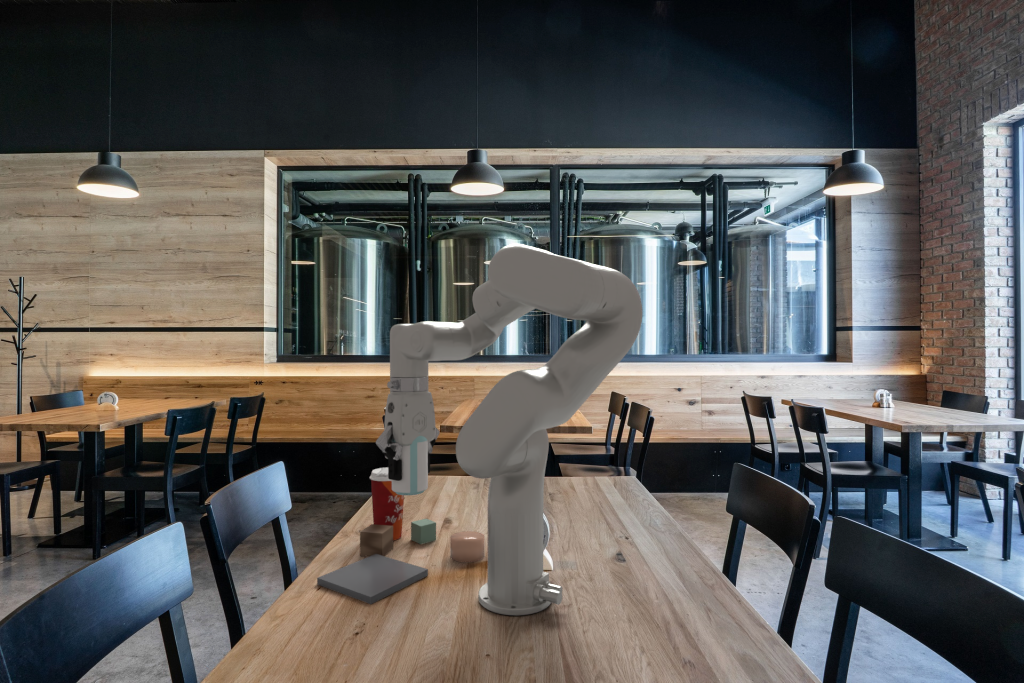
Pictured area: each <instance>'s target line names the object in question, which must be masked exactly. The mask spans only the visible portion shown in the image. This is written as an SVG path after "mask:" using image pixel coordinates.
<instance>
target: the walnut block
mask: <svg viewBox="0 0 1024 683" xmlns="http://www.w3.org/2000/svg"><path fill="white" fill-rule="evenodd" d="M393 550H394V541H393V526H388V525H375V524H372V523H371V524H369V525H368V526H367V527H365V528H363V529H362V530H361V531H360V532H359V556H360V557H369V556H372V555H374V554H378V555H382V556H385V557H386V556H387V555H388V554H389V553H390V552H392V551H393Z"/></svg>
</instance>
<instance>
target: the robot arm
mask: <svg viewBox="0 0 1024 683" xmlns="http://www.w3.org/2000/svg"><path fill="white" fill-rule="evenodd" d="M487 269H488V270H487V278H488V279H487V281H485V282H484V283H482V284H480V285H479V286H478V287H476V288H475V290H474V291H473V294H472V306H473V309H474V311H475V312H474V313H473V314H472V315H470V316H468V317H467V318H465V319H464V320H461V321H459V322H452V321H434V320H433V321H431V320H427V321H426V320H425V321H420V322H416V323H397V324H394V325H392V326H391V328H390V331H389V380H390V381H388V382H387V384H386V386H387V388H388V389H389V393H388V395H387V399H386V403H385V404H386V406H385V412H384V430H383V432H382V433H380V435H379V436H378V438H377V439H376V441H375V444H376V446H377V447H378V448H379V449H380V451H381V453H382V454H383V456H384V458H385V459H387V460H388V462H387V464H388V465H387V467H388V478H389V479H391V480H396V481H400V480H401V479H402V460H401V459H399V457H400V455H401V452H402V449H403V446H409V445H411V444H412V442H413V441H414V440H415V439H416V438H417V437H418V436H424V437H425V438H426V439H427V440H428V474H430V473H431V454H432V453H433V448H434V445H435V444H436V441H437V439H438V438H439V435H440V430H439V429H438V428H437V426H436V414H435V406H434V399H433V395H432V391H429V362H441V361H462V360H466V359H469V358H471V357H473V356H474V355H477V354H478V353H480V352H482V351H483V350H485V349H487V348H488V347H490V346H491V345H493V344H494V343H496V341H497V340H498V338H499V337H500V336H501V335H502V333H503V331H504V328H505V327H507V326H508V325H510V324H511V323H514V322H515V321H516V320H518V319H521V317H523V316H525V315H526V314H528V313H530V312H532V311H534V310H536V309H537V310H538V311H542V312H545V313H547V314H550V315H553V316H556V317H560V318H564V319H568V320H574V321H575V320H576V321H585V323H584V324H583V325H582V327H580V328H579V329H578V330H577V331H575V333H573V334H572V335H570V337H568V338H567V339H566V340H565V341H564V342H563V343H562V344H561V346H560V347H559V348H558V350H557V351H556V353H554V355H552V357H551V358H550V359H549V360H548V361H547V362H546V363H545V364H544V365H542V366H541V367H538V368H532V369H531V368H530V369H519V370H516V371H513V372H511V373H508V374H507V375H505V376H504V377H502V378H501V379H500V380H499V381H498V382H496V384H494V385H493V387H492V388H491V390H490V391H489V392H488V393H487V394H486V396H485V397H484V398H483V400H482V401H481V402H480V403H479V405H477V408H475V409H474V411H473V412H472V414H471V415H470V416H469V417H468V418H467V420H466V421H465V422H464V424H463V426H462V427H461V429H460V430H459V433H458V435H457V437H456V438H457V439H456V443H455V456H456V460H457V462H458V465H459V467H460V468H461V469H462V471H463V472H465V473H466V474H467V475H468V476H471V477H473V478H476V479H482V480H483V479H485V480H486V479H490V481H489V486H488V490H487V491H488V492H487V582H485V583H484V584H483V585H482V586H481V587H480V588H479V589H478V595H477V596H478V602H479V604H480V605H481V606H482V607H483V608H484V609H485V610H488V611H491V612H492V613H495V614H499V615H505V616H526V615H532V614H537V613H539V612H542V611H544V610H546V609H547V608H548V607H549V606H550V605H551V604H554V605H555V604H556V605H558V606H559V605H561V604H562V600H563V586H561V585H559V584H553V583H551V581H550V572H546V571H544V498H545V497H544V492H545V491H544V490H545V487H544V485H545V474H546V467H547V461H548V457H549V456H548V454H549V449H550V448H549V446H550V441H549V435H548V434H549V433H548V431H547V429H552V428H556V427H559V426H561V425H563V424H565V423H567V422H568V421H569V420H570V419H572V418H573V416H574V415H575V414H576V413H577V411H579V409H580V408H581V407H582V406H583V405H584V403H585V402H586V401H587V400H588V399H589V398H590V397H591V396H592V394H594V392H595V391H596V390H597V389H598V387H599V386H600V385H601V384H602V382H603V381H604V380H605V379H606V378H607V377H608V376H609V375H610V373H611V372H612V371H613V370H614V369H615V368H616V367H617V366H618V364H619V363H620V362H621V361H622V360H623V359H624V357H625V356H626V355H627V354H628V353H629V351H630V350H631V349H632V347H633V346H634V343H635V342H636V340H637V338H638V337H639V336H638V335H639V333H640V330H641V327H642V323H643V322H642V321H643V303H642V300H641V296H640V293H639V291H638V289H637V287H636V285H635V284H634V282H633V281H632V280H631V279H630V278H629V277H628V276H627V275H625V274H624V273H622V272H621V271H618V270H617V269H614V268H611V267H607V266H604V265H599V264H594V263H592V262H587V261H584V260H579V259H577V258H576V259H575V258H571V257H567V256H563V255H558V254H556V253H555V254H554V253H553V252H550V251H548V250H546V249H542V248H538V247H534V246H532V245H531V246H530V245H526V244H523V243H511V244H508V245H504V246H503V247H502V248H500V249H499V250H498V251H496V253H494V255H493V257H491V259H490V262H489V265H488V268H487ZM394 440H395V442H396V443H395V442H394ZM394 446H395V447H396V449H395V452H394Z"/></svg>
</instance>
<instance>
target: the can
mask: <svg viewBox="0 0 1024 683" xmlns="http://www.w3.org/2000/svg"><path fill="white" fill-rule="evenodd" d="M394 442H395V440H394ZM395 443H396V442H395ZM395 449H396V447H395V446H394V452H395ZM399 459H401V460H402V479H401V480H400V481H396V480H392V490H393V491H394V492H396V494H398V495H404V496H417V495H421V494H423V493H424V492H425V491H426V490H428V488H429V475H428V474H429V473H428V440H427V439H426V438H425V437H424V436H418V437H417V438H416V439H415V440H414V441H413V442H412V444H411V445H409V446H403V449H402V452H401V455H400V457H399Z"/></svg>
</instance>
